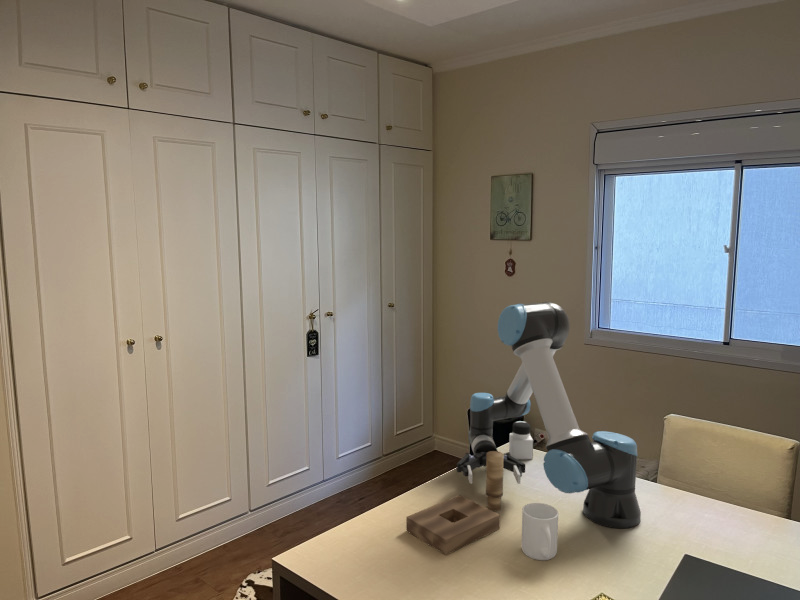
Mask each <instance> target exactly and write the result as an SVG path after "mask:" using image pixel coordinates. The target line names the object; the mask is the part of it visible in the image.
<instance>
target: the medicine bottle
mask: <svg viewBox="0 0 800 600" xmlns="http://www.w3.org/2000/svg"><path fill="white" fill-rule="evenodd" d="M508 441H509V442H508V444H509V445H508V449H509V450H508V452H509V454H510V455H511V456H512V457H514V458H515V459H517V460H533V458H534V457H533V456H534V439H533V437H532V436H531V425H530V423H528V422H527V421H521V420H519V421H515V422H513V423H512V432H510V433H509V439H508Z"/></svg>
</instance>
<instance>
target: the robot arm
mask: <svg viewBox="0 0 800 600" xmlns="http://www.w3.org/2000/svg"><path fill="white" fill-rule="evenodd" d="M570 325H571V324H570V319H569V316H568V314H567V312H566V311H565V310H564V308H562V307H561V306H560V305H559V304H557V303H555V302H551V301H544V302H531V303H517V304H511V305H508V306H506V307H505V308H503V310H501V313H500V314H499V317H498V321H497V334H498V338H499V339H500V341H501V342H502V343H503V344H504V345H506V346H510V347H511V350H512V352H513V355H515V356H516V357H518V358H520V360H521V364H520V366H519V368H518V370H517V372H516V373H515V376H514V378H513V380H512V381H511V383H510V385H509V387H508V389H507V391H506V393H505V395H504V396H497V397H494V396H493V394H491V393H488V392H475V393H473V394H472V395H471V397H470V403H469V404H470V405H469V409H470V410H469V411H470V413H469V415H470V422H469V423H470V425H469V431H468V442H469V444H470V446H471V450H472V452H473V455H471V454H470V453H469V452H466V453H465V455H464V456H463V457H462V458H461V459H460V460H459V461H458V462H457V463H456V473H461V472H462V476H464V477H467V478H468V482H469V484H473V472H472V471H473V470H475V469H477V468H478V469H479V468H481V467H486V459H487V452H490V451H498V448H497V446H496V444H495V441H494V439H493V438H494V437H493V431H494V430H493V428H494V422H495V421H500V420H505V419H506V420H507V419H511V418H519V417H522V416H525V415H527V414H529V413H530V411H531V405H532V404H531V400H530V398H531V396H532V394H533V396H534V399H535V402H536V405H537V408H538V410H539V414H540V417H541V420H542V421H543V422H542V423H543V425H544V428H545V430H546V434H547V437H548V441H547V443H546V445H545V448H546V450H547V452H546V453H545V455H544V457H543V463H542V465H543V470H544V473H545V476H546V477H547V480H548V481H549V483H550V484H551V485H552V486H553V487H554V488H556V489H557V490H558V491H560V492H562V493H564V494H574V493H582V492H584V491H588V492H587V494H586V496H585V498H584V500H583V501H584V502H583V510H582V512H583V514H584V516H585V517H586V518H587V519H589V520H590V521H592V522H594V523H596V524H598V525H601V526H603V527H608V528H613V529H614V528H615V529H628V528H633V527H636V526H638V525H639V524H640V523H641V520H642V519H641V518H642V517H641V516H642V513H641V512H642V511H641V508H640V505H639V500H638V498H637V495H636V480H637V466H638V465H637V462H638V445H637V443H636V441H635V440H634V439H633V438H631V437H629V436H627V435H625V434H621V433H616V432H613V431H606V430H603V431H602V430H601V431H595V432H593V434H592V437H591V439H592V440H590V436H589V434H588V433H587V432H584V430H581V429H580V427H579V424H578V421H577V418H576V415H575V414H574V410H573V407H572V406H571V402H570V399H569V397H568V394H567V391H566V389H565V386H564V383H563V380H562V378H561V375H560V372H559V369H558V367H557V365H556V364H557V363H556V362H555V360H554V356H555V353H556V352H557V351H558V350H561V349H562V348H563V347H564V345H565V343H566V341H567V339H568V336H569V334H570ZM503 470H506V471H508V472H512V473H513V476H514V478H515V481H516V483H517V485H520V484H521V477H522V476H523V474H524V473H526V463H525V462H522V461H520V459H515V458H514V457H512V456H511V455H510V452H509V453H508V452H506V453H505V454H504V460H503Z"/></svg>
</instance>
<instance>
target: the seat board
mask: <svg viewBox="0 0 800 600" xmlns="http://www.w3.org/2000/svg"><path fill="white" fill-rule="evenodd" d="M453 522H454V523H453ZM500 525H501V514H500V513H497V512H496V511H492V510H489V509H488V508H487V507H485V506H483V505H481V504H479V503H477V502H474V500H473V501H472V500H471V499H469V498H467V497H465V496H463V495H460V494H459V495H457V496H456V495H455V496H454V497H451V498H449V499H446V500H444V501H442V502H440V503H437V504H434V505H432V506H429V507H427V508H424V509H422V510H420V511H417V512H414V513H412V514H410V515H407V516H406V526H405V528H406V530H407V531H408V532H407V531H406V532H407V533H409V532H410V533H409V534H411V535H412V534H413V535H412V536H414V537H415V536H416V537H415V538H417V537H418V538H417V539H419V540H421V541H422V542H423V543H425V544H426V545H428V544H429V546H430V547H432V548H433V549H435V550H437V551H438V552H440V553H442V554H444V555H445V556H446V555H449V554H451V553H454V552H455V551H457V550H459V549H461V548H463V547H466V546H467V545H469V544H472V543H473V542H475V541H477V540H480V539H482V538H484V537H486V536H487V535H490V534H492V533H494V532H497V531H498V530H500V529H501V528H500V527H501V526H500Z"/></svg>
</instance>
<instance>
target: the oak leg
mask: <svg viewBox="0 0 800 600" xmlns="http://www.w3.org/2000/svg"><path fill="white" fill-rule="evenodd" d="M504 456H505V454H504V453H503V452H502V451H498V450H497V451H490V452H487V459H486V466H485V468H486V469H485V470H486V472H485V495H486V496H487V500H486V502H487V503H486V504H487V506H486V508H487V509H489V510H491V511H493V512H496V511H497V512H498V511H500V510H501V508H502V505H501V504H502V497H503V495H504V468H503V460H504Z"/></svg>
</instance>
